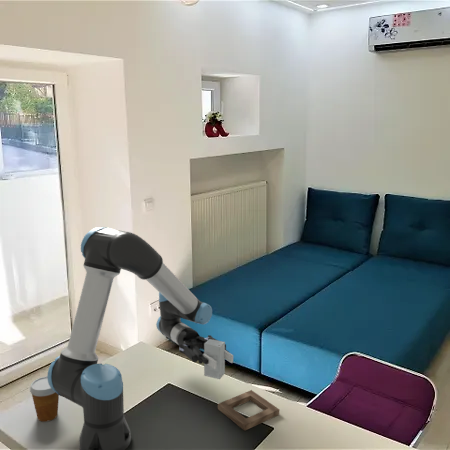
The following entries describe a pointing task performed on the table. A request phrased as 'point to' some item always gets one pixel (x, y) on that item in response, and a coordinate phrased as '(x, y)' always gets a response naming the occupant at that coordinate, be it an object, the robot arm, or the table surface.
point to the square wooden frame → (254, 420)
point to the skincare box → (215, 358)
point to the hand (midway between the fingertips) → (223, 362)
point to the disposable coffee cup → (44, 399)
